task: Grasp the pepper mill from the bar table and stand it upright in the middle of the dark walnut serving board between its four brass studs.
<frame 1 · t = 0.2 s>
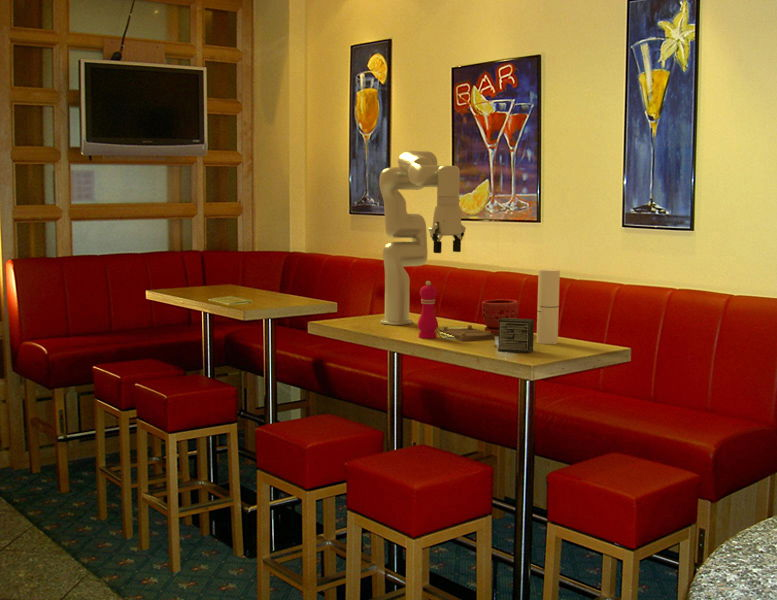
hand: (447, 252, 322), 30 cm above the table, tool pointing down, fingers open, 9 cm apart
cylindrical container: (547, 342, 322), on the table
pepper mill: (427, 337, 331), on the table
small box: (515, 351, 305), on the table
plant pot: (499, 333, 342), on the table
serving board: (466, 336, 334), on the table
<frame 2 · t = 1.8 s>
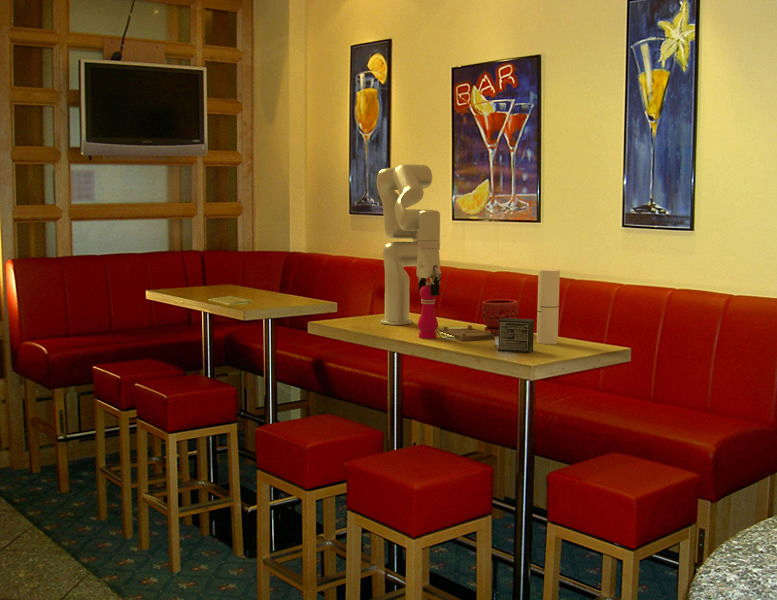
hand: (428, 294, 329), 15 cm above the table, tool pointing down, fingers open, 9 cm apart
nothing on the table moved.
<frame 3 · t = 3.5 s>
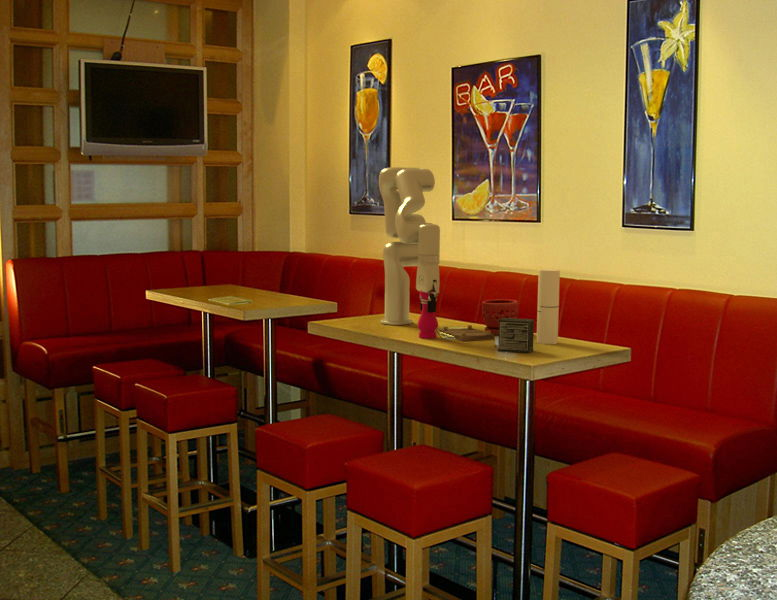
hand: (428, 310, 330), 9 cm above the table, tool pointing down, fingers closed on pepper mill, 5 cm apart
pepper mill: (427, 337, 331), on the table, touching gripper
everything else where it was.
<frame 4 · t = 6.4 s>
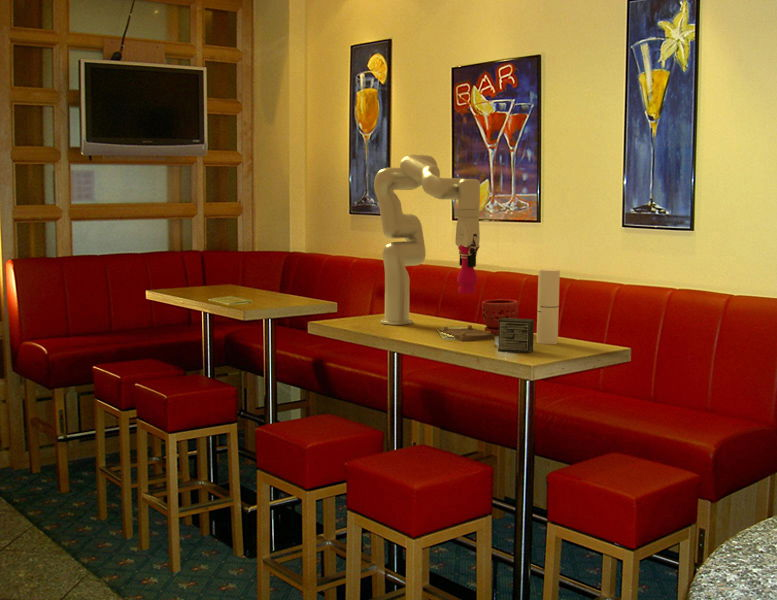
hand: (467, 265, 331), 25 cm above the table, tool pointing down, fingers closed on pepper mill, 5 cm apart
pepper mill: (466, 292, 332), point 16 cm above the table, touching gripper
everything else where it was.
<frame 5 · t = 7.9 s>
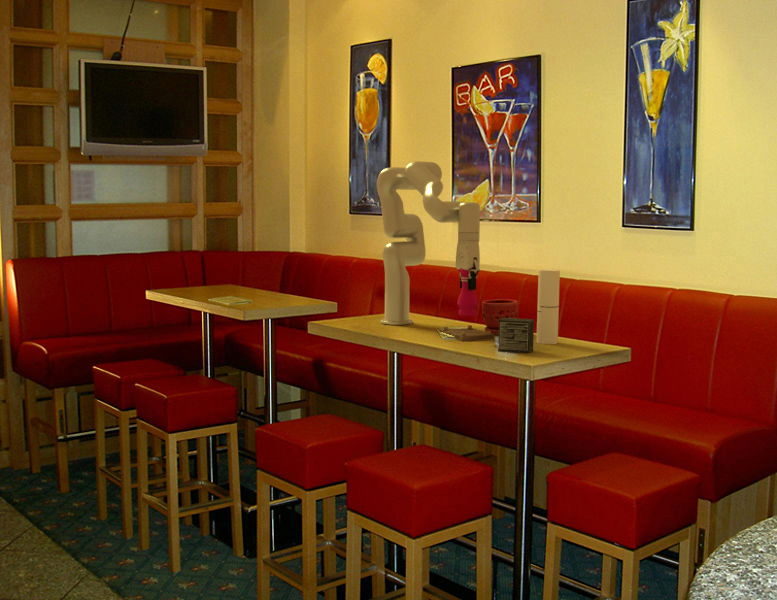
hand: (467, 288, 331), 17 cm above the table, tool pointing down, fingers closed on pepper mill, 5 cm apart
pepper mill: (467, 315, 333), point 8 cm above the table, touching gripper
everything else where it was.
when the fingers open (12 cm above the table, at t = 9.3 s): pepper mill stays where it is, resting on serving board.
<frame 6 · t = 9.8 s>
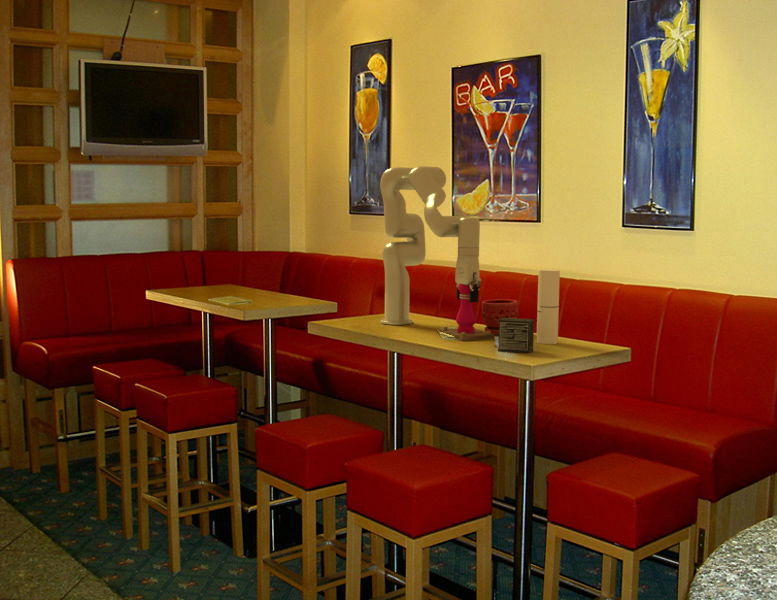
hand: (467, 300, 332), 13 cm above the table, tool pointing down, fingers open, 9 cm apart
pepper mill: (465, 332, 334), point 1 cm above the table, touching serving board
everything else where it was.
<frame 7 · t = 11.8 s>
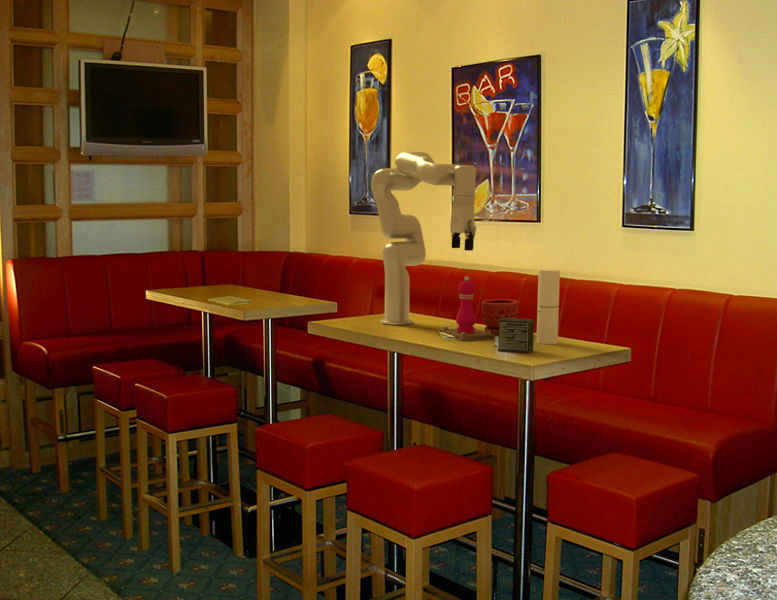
hand: (462, 249, 332), 31 cm above the table, tool pointing down, fingers open, 9 cm apart
nothing on the table moved.
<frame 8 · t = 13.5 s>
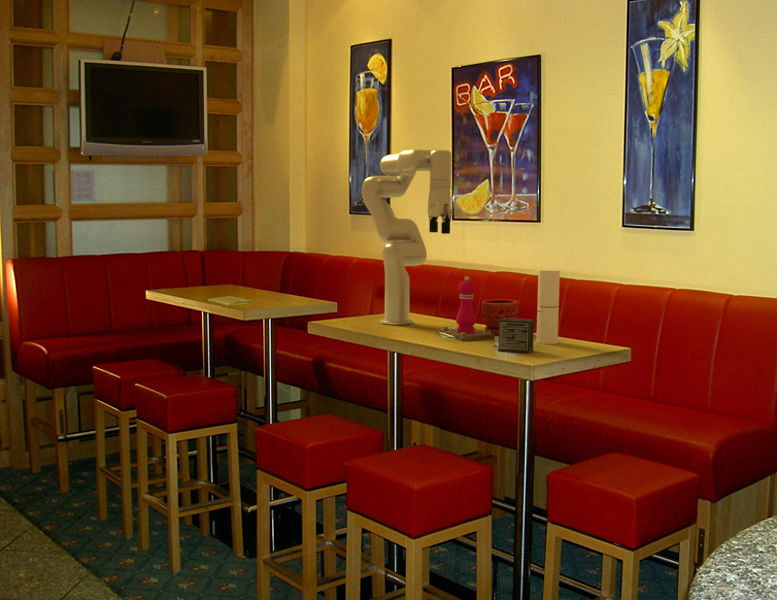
hand: (439, 233, 337), 36 cm above the table, tool pointing down, fingers open, 9 cm apart
nothing on the table moved.
at the end: pepper mill inside the target area on the serving board (0.5 cm from its centre), point 1.3 cm above the serving board's base; pepper mill tilted 0°; the gripper is holding nothing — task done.
